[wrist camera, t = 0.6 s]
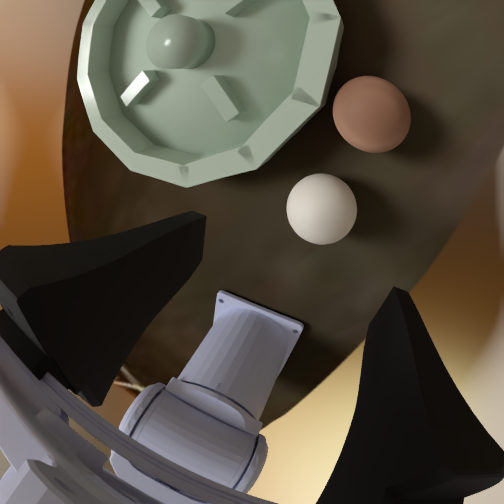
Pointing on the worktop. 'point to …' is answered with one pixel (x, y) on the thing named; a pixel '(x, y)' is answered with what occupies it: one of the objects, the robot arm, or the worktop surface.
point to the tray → (205, 80)
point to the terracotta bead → (371, 114)
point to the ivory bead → (321, 209)
